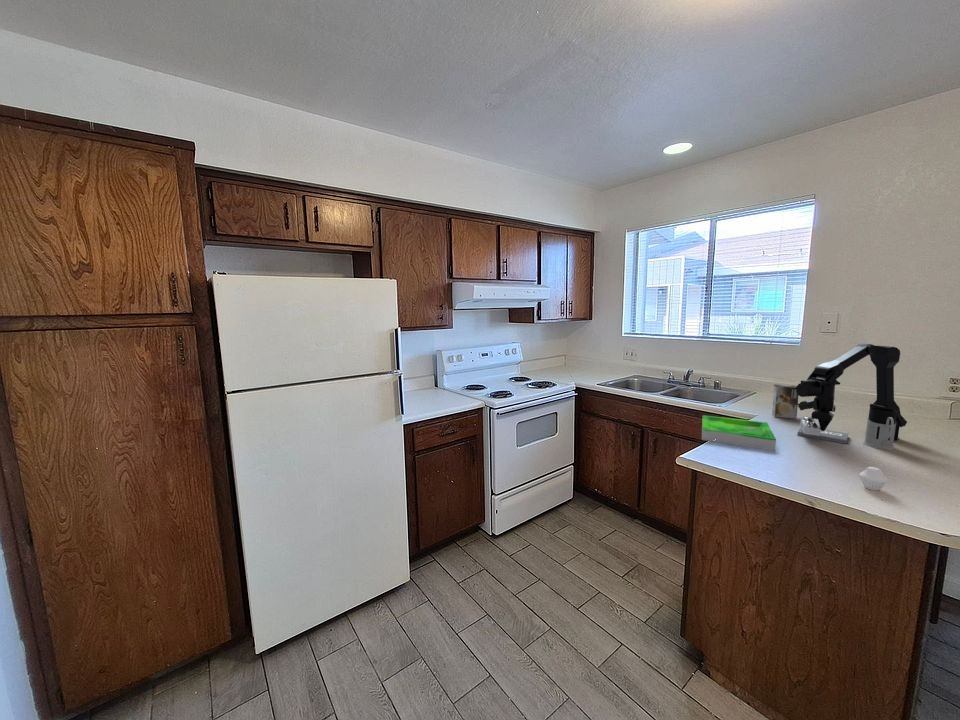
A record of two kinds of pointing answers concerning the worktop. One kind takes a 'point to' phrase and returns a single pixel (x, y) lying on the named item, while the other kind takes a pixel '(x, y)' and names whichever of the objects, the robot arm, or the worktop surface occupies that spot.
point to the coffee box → (785, 401)
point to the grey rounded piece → (880, 428)
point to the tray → (738, 432)
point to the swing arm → (810, 426)
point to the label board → (828, 436)
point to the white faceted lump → (873, 478)
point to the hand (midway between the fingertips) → (822, 430)
